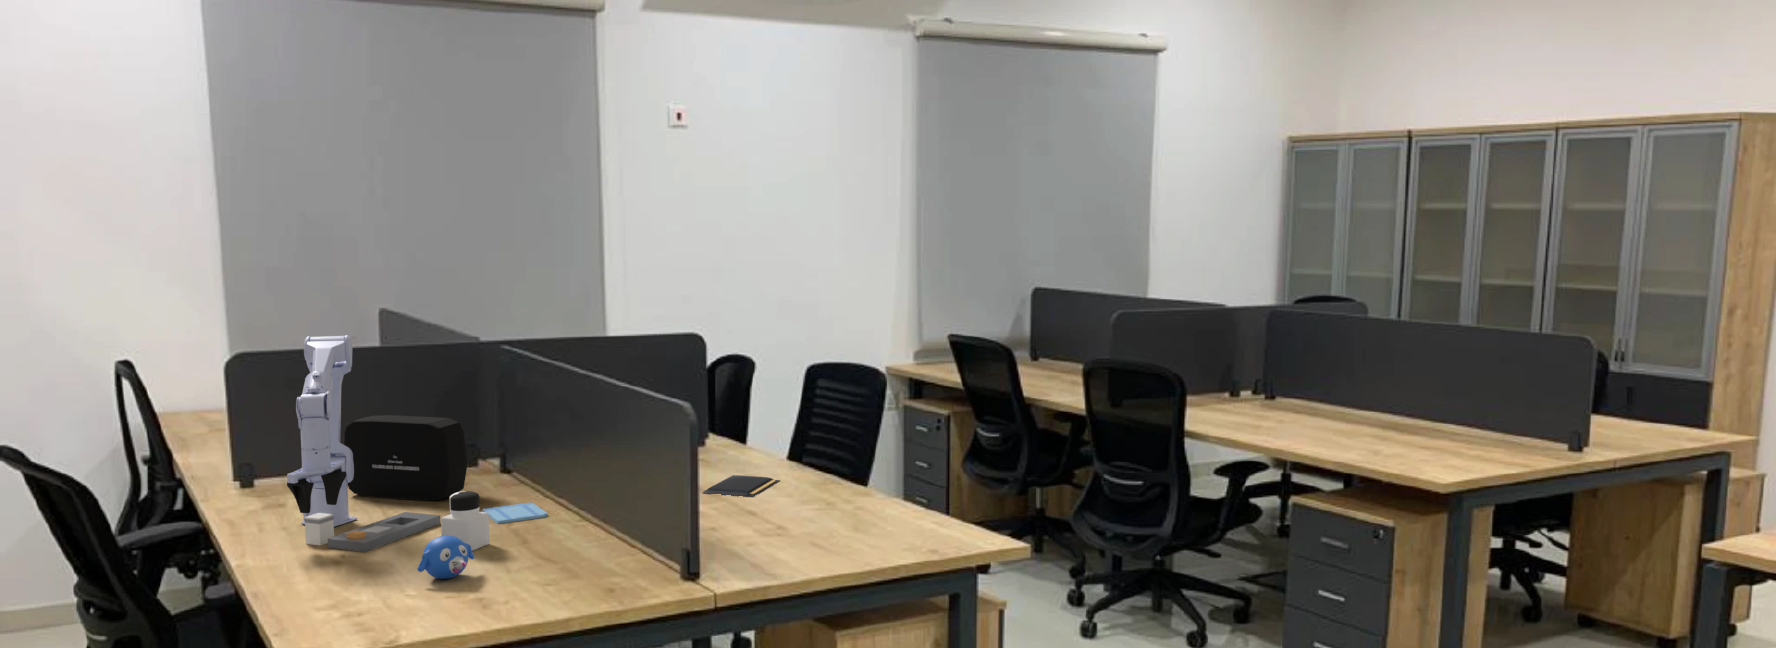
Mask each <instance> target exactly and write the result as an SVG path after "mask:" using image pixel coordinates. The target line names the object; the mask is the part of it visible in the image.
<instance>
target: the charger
mask: <svg viewBox="0 0 1776 648" xmlns="http://www.w3.org/2000/svg"><path fill="white" fill-rule="evenodd" d="M333 520H334V516H333V514H326V513H316V514H313V515H310V516H307V517H305V519H304V518H303V521H304V522H305V524H304V533H305V535H304V536H305V544H306V545H314V546H323V545H325V544H328V538H331V537H334V536H335V528H334V522H333Z"/></svg>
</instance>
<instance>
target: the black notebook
mask: <svg viewBox="0 0 1776 648" xmlns="http://www.w3.org/2000/svg"><path fill="white" fill-rule="evenodd" d="M780 482H781V480H780V479H774V478H772V477H767V476H755V475H754V476H752V475H742V474H741V475H739V474H736V475H730V476H729V477H727V478H725V479H723V480H721V481H719V482H717V483H716V484H714V485H712V486H710V487H708V488H707V489H705V490H704V491H702V493H701V494H703V495H711V494H721V495H720V496H726V495H731V496H730V497H739V496H743V497H742V498H754V496H755V495H757V494H758V495H760V494H761V493H763V492H764V491H766V490H768V489H770V488H771V487H773V486H775V485H776V484H778V483H780ZM774 484H775V485H774ZM758 495H757V496H758ZM755 497H756V496H755Z"/></svg>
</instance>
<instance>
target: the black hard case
mask: <svg viewBox="0 0 1776 648" xmlns="http://www.w3.org/2000/svg"><path fill="white" fill-rule="evenodd" d="M343 442H344V444H343V445H345V446H347V447H348V448H350V449H351V451H352V453H353V462H354V477H353V480H352V481H351V482H348V484H347V487H348V489H349V490H350V491H351V492H353V494H355V495H359V496H365V497H371V498H381V499H394V500H415V501H417V500H419V501H420V500H421V501H441V500H443V499H445V498H448V497H450V496H451V495H452V494H454V493H457V492H462V491H463V490H464V489H465V483H466V477H467V470H468V465H469V464H468V455H467V449H466V448H467V446H466V437H465V430H464V428H463V426H462V424H461V422H460V421H457V420H454V419H452V418H449V417H435V416H434V417H433V416H413V415H393V414H392V415H391V414H389V415H370V416H367V417H362V418H359V419H354V420H353V421H352V422H350V423H349V424H347V425H346V428H345V431H344V440H343Z"/></svg>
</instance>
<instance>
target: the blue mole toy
mask: <svg viewBox="0 0 1776 648" xmlns="http://www.w3.org/2000/svg"><path fill="white" fill-rule="evenodd" d="M475 558H476V557H475V554H474V553H473V551H472V550H471V546H470V545H469V544H467V543H464V542H463V541H462V540H461V539H459V538H457V537H455V536H442V535H441V536H438V537H435V538H434V539H432V540H430V541H429V542H428V543H427V544H426V545H425V547H424V549H423V553H422V557H421V560H420V562H419V565H418V566H417V571H418V572H420V573H422V572H424V571H426V572H427V574H428V575H430V576H431V577H433V578H435V579H438V580H439V579H440V580H447V579H448V580H449V579H452V578H455V577H457V576H458V575H460V574H461V573H462V572H463V571H465V569H466V567H467V565H468V562H469V559H470V560H474V559H475Z"/></svg>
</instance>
